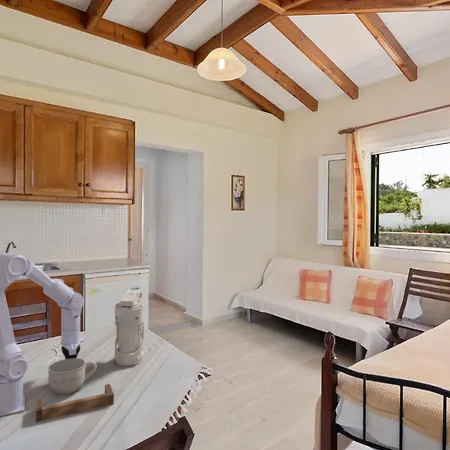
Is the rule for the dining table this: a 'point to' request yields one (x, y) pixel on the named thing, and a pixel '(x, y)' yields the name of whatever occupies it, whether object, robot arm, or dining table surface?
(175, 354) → the dining table surface
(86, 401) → the dock
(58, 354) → the scissors
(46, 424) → the dining table surface
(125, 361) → the lantern
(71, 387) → the teacup
